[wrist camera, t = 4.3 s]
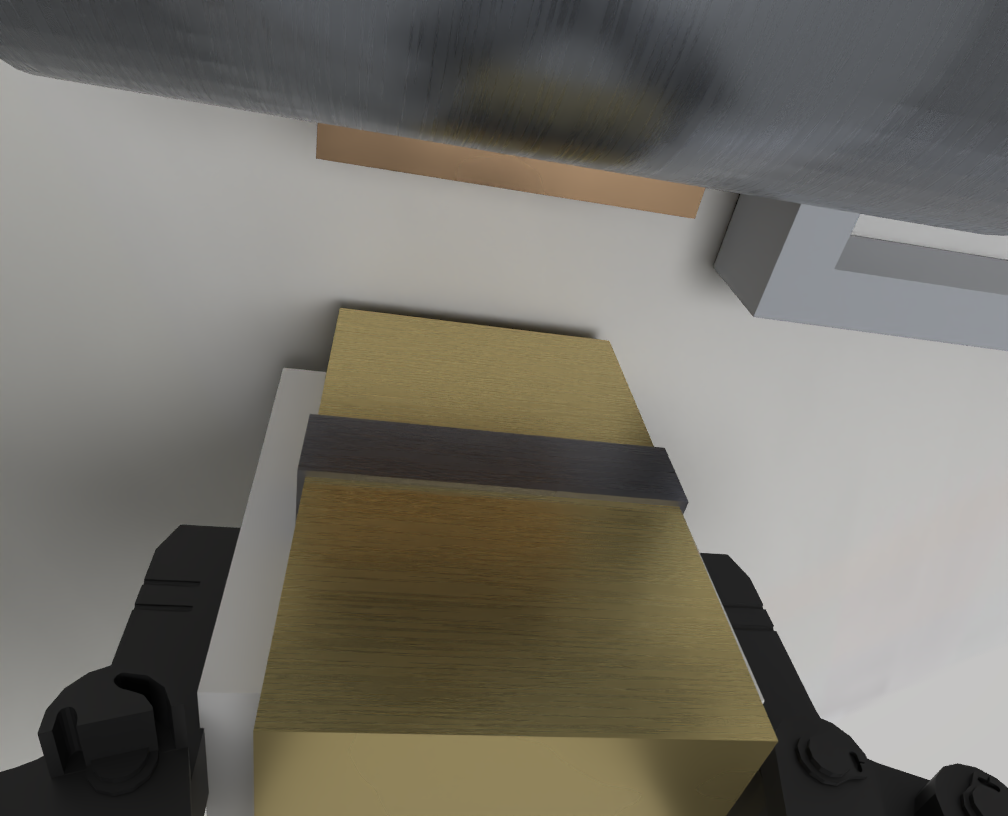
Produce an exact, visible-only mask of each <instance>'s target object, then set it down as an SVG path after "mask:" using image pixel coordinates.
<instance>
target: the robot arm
mask: <svg viewBox="0 0 1008 816" xmlns="http://www.w3.org/2000/svg"><path fill="white" fill-rule="evenodd" d="M325 378H326V372H320V371H310V370H300V369H290V368H283V371H282V375H281V378H280V382H279V386H278V390H277V393H276V397H275V401H274V405H273V409H272V412H271V416H270V420H269V424H268V427H267V431H266V435H265V439H264V442H263V446H262V450H261V454H260V458H259V461H258V465H257V469H256V473H255V476H254V480H253V484H252V488H251V491H250V495H249V499H248V503H247V507H246V510H245V514H244V518H243V522H242V525H241V528H230V527H213V526H196V525H180V526H179V527H178V528H177V529H176V530H175V531H174V532H173V533H172V534H171V535H170V536H169V537H168V538H167V539H166V540H165V541H164V542H163V543H162V544H161V545H160V546H159V547H158V548H157V549H156V550H155V553H154V555H153V558H152V561H151V563H150V566H149V568H148V571H147V574H146V576H145V579H144V585H142V587H141V589H140V592H139V594H138V597H137V600H136V602H135V608H134V610H132V612H131V615H130V618H129V620H128V623H127V625H126V628H125V631H124V633H123V636H122V638H121V641H120V644H119V646H118V649H117V651H116V654H115V656H114V659H113V662H112V664H111V666H108V667H105V668H102V669H99V670H96V671H92V672H89V673H88V674H86V675H84V676H83V677H81V678H80V679H78V680H77V681H75V682H74V683H72V684H71V685H69V686H68V687H66V688H65V689H64V690H63V691H62V692H61V693H60V694H59V695H58V697H57V698H56V699H55V700H54V701H53V703H52V704H51V705H50V706H49V707H48V708H47V710H46V712H45V715H44V717H43V720H42V723H41V726H40V728H39V731H38V737H39V740H40V744H41V747H42V750H43V754H44V756H42V757H41V758H39V759H37V760H34V761H32V762H29V763H27V764H24V765H21V766H19V767H16V768H13V769H9V770H6V771H2V772H0V816H204V813H205V809H207V816H254V758H253V730H254V725H255V720H256V715H257V710H258V705H259V700H260V695H261V691H262V686H263V681H264V676H265V671H266V666H267V661H268V656H269V652H270V647H271V642H272V637H273V632H274V627H275V622H276V617H277V613H278V608H279V603H280V598H281V593H282V588H283V583H284V578H285V573H286V569H287V564H288V559H289V554H290V549H291V544H292V539H293V534H294V530H295V521H296V493H297V469H298V464H299V460H300V455H301V451H302V446H303V442H304V437H305V433H306V428H307V424H308V419H309V415H310V414H317V415H318V412H319V407H320V403H321V398H322V393H323V388H324V383H325ZM683 517H684V516H683ZM686 524H687V523H686ZM689 531H690V530H689ZM690 533H691V532H690ZM691 536H692V535H691ZM692 538H693V537H692ZM693 540H694V539H693ZM694 543H695V541H694ZM695 545H696V544H695ZM696 547H697V546H696ZM697 550H698V548H697ZM698 552H699V551H698ZM699 555H700V557H701V559H702V562H703V564H704V566H705V569H706V571H707V573H708V576H709V578H710V581H711V583H712V585H713V588H714V590H715V592H716V595H717V597H718V599H719V602H720V604H721V607H722V609H723V611H724V614H725V616H726V618H727V621H728V623H729V626H730V628H731V630H732V633H733V635H734V637H735V640H736V642H737V644H738V647H739V649H740V652H741V654H742V656H743V659H744V661H745V663H746V666H747V668H748V671H749V673H750V675H751V678H752V680H753V682H754V685H755V687H756V689H757V692H758V694H759V697H760V699H761V701H762V704H763V706H764V708H765V711H766V713H767V715H768V718H769V720H770V723H771V725H772V727H773V730H774V732H775V734H776V737H777V739H778V743H777V744H776V745H775V747H774V748H773V750H772V751H771V753H770V754H769V755H768V757H767V758H766V760H765V761H764V762H763V764H762V765H761V767H760V768H759V770H758V771H757V772H756V774H755V775H754V777H753V778H752V780H751V781H750V782H749V784H748V785H747V787H746V788H745V790H744V791H743V792H742V794H741V795H740V797H739V798H738V800H737V801H736V802H735V804H734V805H733V807H732V808H731V810H730V811H729V812H728V814H727V815H726V816H1008V788H1007V787H1006V786H1005V785H1004V784H1003V783H1001V782H1000V781H999V780H998V779H997V778H995V777H993V776H991V775H989V774H987V773H985V772H983V771H982V770H980V769H978V768H976V767H971V766H966V765H962V764H954V765H949V766H945V767H943V768H942V769H941V770H940V771H939V772H938V773H937V774H936V775H935V776H934V777H933V778H932V779H931V780H927V779H924V778H921V777H918V776H915V775H912V774H909V773H906V772H903V771H900V770H897V769H894V768H891V767H888V766H885V765H881V764H879V763H876V762H874V761H872V760H869V759H867V757H866V755H865V753H864V752H863V751H862V750H861V749H860V748H859V746H858V745H857V744H856V743H855V742H854V740H853V739H852V738H851V737H850V736H849V735H847V734H846V733H845V732H843V731H842V730H841V729H839V728H838V727H837V726H835V725H834V724H833V723H831V722H828V721H826V720H823V719H821V718H820V716H819V715H818V713H817V712H816V710H815V708H814V706H813V704H812V702H811V700H810V698H809V696H808V694H807V692H806V690H805V688H804V686H803V684H802V682H801V680H800V678H799V676H798V674H797V672H796V670H795V668H794V666H793V664H792V662H791V660H790V658H789V656H788V654H787V652H786V650H785V648H784V646H783V644H782V642H781V640H780V638H779V636H778V634H777V632H776V631H774V630H773V623H772V621H771V619H770V617H769V615H768V613H767V611H766V610H764V609H763V603H762V601H761V599H760V597H759V595H758V593H757V591H756V589H755V587H754V585H753V583H752V581H751V579H750V578H749V577H748V576H747V574H746V573H745V572H744V571H743V570H742V569H741V568H740V567H739V566H738V565H737V564H736V563H735V562H734V561H733V560H732V559H731V558H730V557H729V556H728V555H726V554H709V553H699Z"/></svg>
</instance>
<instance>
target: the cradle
mask: <svg viewBox="0 0 1008 816" xmlns="http://www.w3.org/2000/svg"><path fill="white" fill-rule="evenodd" d="M859 215H860V214H859V213H853V212H847V211H841V210H835V209H829V208H823V207H817V206H811V205H805V204H799V203H793V202H787V201H781V200H775V199H769V198H763V197H757V196H752V195H746V194H740V197H739V200H738V202H737V205H736V208H735V210H734V213H733V216H732V218H731V221H730V224H729V226H728V229H727V232H726V234H725V237H724V240H723V243H722V245H721V248H720V251H719V253H718V256H717V259H716V261H715V264H714V267H713V268H714V269H715V270H716V271H717V273H718V274H719V275H720V276H721V277H722V279H723V280H724V281H725V282H726V284H727V285H728V286H729V287H730V289H731V290H732V291H733V292H734V293H735V295H736V296H737V297H738V298H739V300H740V301H741V302H742V303H743V305H744V306H745V307H746V308H747V309H748V311H749V312H750V313H751V314H752V316H753V317H758V318H765V319H773V320H780V321H788V322H795V323H803V324H810V325H817V326H825V327H832V328H840V329H847V330H855V331H862V332H870V333H877V334H884V335H892V336H899V337H907V338H914V339H922V340H929V341H937V342H944V343H951V344H959V345H966V346H974V347H981V348H989V349H996V350H1004V351H1008V260H1002V259H995V258H989V257H983V256H977V255H971V254H964V253H958V252H952V251H946V250H940V249H933V248H927V247H921V246H915V245H909V244H902V243H896V242H890V241H884V240H878V239H871V238H865V237H859V236H853V235H851V232H852V230H853V228H854V226H855V224H856V222H857V220H858V218H859Z"/></svg>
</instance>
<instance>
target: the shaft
mask: <svg viewBox="0 0 1008 816" xmlns="http://www.w3.org/2000/svg"><path fill="white" fill-rule="evenodd" d="M0 59H1V60H3V61H5V62H6V63H8V64H9V65H11V66H13V67H14V68H16V69H18V70H21V71H23V72H26V73H29V74H32V75H37V76H43V77H49V78H55V79H61V80H67V81H73V82H79V83H85V84H91V85H97V86H103V87H109V88H115V89H121V90H127V91H133V92H139V93H145V94H150V95H156V96H162V97H168V98H174V99H180V100H186V101H192V102H198V103H204V104H210V105H216V106H222V107H228V108H234V109H240V110H246V111H252V112H258V113H264V114H270V115H275V116H281V117H287V118H293V119H299V120H305V121H311V122H317V123H318V126H317V148H316V159H323V160H329V161H335V162H342V163H348V164H354V165H360V166H367V167H373V168H379V169H386V170H392V171H398V172H404V173H411V174H417V175H423V176H430V177H436V178H442V179H448V180H455V181H461V182H467V183H474V184H480V185H486V186H492V187H499V188H505V189H511V190H518V191H524V192H530V193H536V194H543V195H549V196H555V197H562V198H568V199H574V200H580V201H587V202H593V203H599V204H606V205H612V206H618V207H624V208H631V209H637V210H643V211H650V212H656V213H662V214H668V215H675V216H681V217H687V218H694V219H695V217H696V214H697V211H698V208H699V205H700V202H701V199H702V196H703V193H704V190H705V188H710V189H716V190H722V191H728V192H734V193H740V194H746V195H752V196H757V197H763V198H769V199H775V200H781V201H787V202H793V203H799V204H805V205H811V206H817V207H823V208H829V209H835V210H841V211H847V212H853V213H859V214H865V215H871V216H877V217H882V218H888V219H894V220H900V221H906V222H912V223H918V224H924V225H930V226H936V227H942V228H948V229H954V230H960V231H966V232H972V233H978V234H985V235H1001V236H1004V235H1008V0H0Z"/></svg>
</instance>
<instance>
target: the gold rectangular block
mask: <svg viewBox="0 0 1008 816" xmlns="http://www.w3.org/2000/svg"><path fill="white" fill-rule="evenodd" d="M687 504H688V500H687V497H686V495H685V493H684V491H683V488H682V486H681V484H680V482H679V479H678V477H677V475H676V473H675V470H674V468H673V466H672V463H671V461H670V459H669V457H668V454H667V452H666V450H665V448H660V447H654V446H653V443H652V441H651V439H650V436H649V434H648V431H647V429H646V427H645V424H644V422H643V420H642V417H641V415H640V413H639V410H638V408H637V405H636V403H635V401H634V398H633V396H632V394H631V391H630V389H629V386H628V384H627V382H626V379H625V377H624V375H623V372H622V370H621V368H620V365H619V363H618V360H617V358H616V356H615V353H614V351H613V349H612V346H611V344H610V342H609V341H607V340H598V339H590V338H582V337H574V336H566V335H558V334H550V333H541V332H533V331H525V330H517V329H509V328H501V327H493V326H484V325H476V324H468V323H460V322H452V321H444V320H436V319H427V318H419V317H411V316H403V315H395V314H387V313H379V312H370V311H362V310H354V309H346V308H340V310H339V315H338V320H337V324H336V329H335V334H334V339H333V344H332V349H331V354H330V359H329V364H328V368H327V373H326V378H325V383H324V388H323V393H322V398H321V403H320V407H319V412H318V415H317V414H310V415H309V419H308V424H307V428H306V433H305V437H304V442H303V446H302V451H301V455H300V460H299V464H298V469H297V493H296V521H295V530H294V534H293V539H292V544H291V549H290V554H289V559H288V564H287V569H286V573H285V578H284V583H283V588H282V593H281V598H280V603H279V608H278V613H277V617H276V622H275V627H274V632H273V637H272V642H271V647H270V652H269V656H268V661H267V666H266V671H265V676H264V681H263V686H262V691H261V695H260V700H259V705H258V710H257V715H256V720H255V725H254V730H253V758H254V816H726V815H727V814H728V812H729V811H730V810H731V808H732V807H733V805H734V804H735V802H736V801H737V800H738V798H739V797H740V795H741V794H742V792H743V791H744V790H745V788H746V787H747V785H748V784H749V782H750V781H751V780H752V778H753V777H754V775H755V774H756V772H757V771H758V770H759V768H760V767H761V765H762V764H763V762H764V761H765V760H766V758H767V757H768V755H769V754H770V753H771V751H772V750H773V748H774V747H775V745H776V744H777V743H778V739H777V737H776V734H775V732H774V730H773V727H772V725H771V723H770V720H769V718H768V715H767V713H766V711H765V708H764V706H763V704H762V701H761V699H760V697H759V694H758V692H757V689H756V687H755V685H754V682H753V680H752V678H751V675H750V673H749V671H748V668H747V666H746V663H745V661H744V659H743V656H742V654H741V652H740V649H739V647H738V644H737V642H736V640H735V637H734V635H733V633H732V630H731V628H730V626H729V623H728V621H727V618H726V616H725V614H724V611H723V609H722V607H721V604H720V602H719V599H718V597H717V595H716V592H715V590H714V588H713V585H712V583H711V581H710V578H709V576H708V573H707V571H706V569H705V566H704V564H703V562H702V559H701V557H700V555H699V552H698V550H697V547H696V545H695V543H694V540H693V538H692V536H691V533H690V531H689V528H688V526H687V524H686V521H685V519H684V517H683V513H684V511H685V509H686V507H687Z"/></svg>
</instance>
